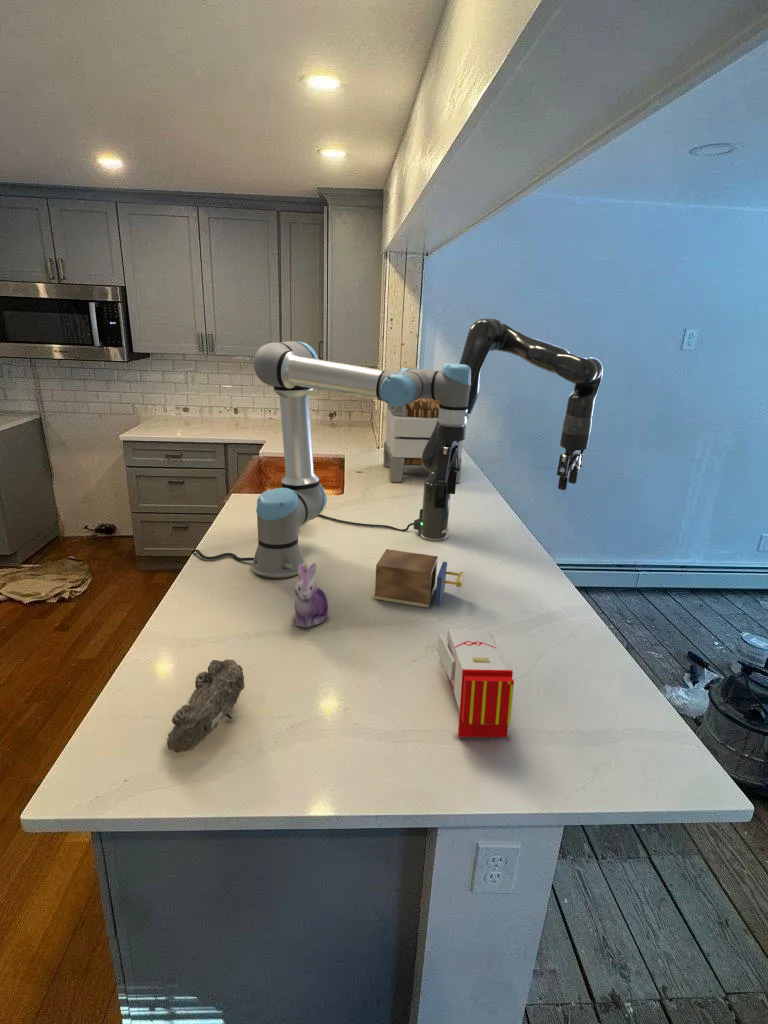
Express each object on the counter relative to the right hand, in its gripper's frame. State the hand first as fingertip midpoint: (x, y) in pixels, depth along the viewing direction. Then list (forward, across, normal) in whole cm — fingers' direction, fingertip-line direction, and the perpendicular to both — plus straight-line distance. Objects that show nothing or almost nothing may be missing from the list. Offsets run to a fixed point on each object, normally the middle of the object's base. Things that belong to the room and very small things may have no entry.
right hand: (567, 486), depth 165 cm
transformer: (+29, -66, -92) cm, 116 cm away
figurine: (+28, +68, -38) cm, 83 cm away
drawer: (+27, +38, -21) cm, 52 cm away
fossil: (+28, +106, -27) cm, 113 cm away
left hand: (+3, +28, -24) cm, 37 cm away
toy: (+28, +68, +8) cm, 74 cm away
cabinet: (+28, +41, -27) cm, 56 cm away
